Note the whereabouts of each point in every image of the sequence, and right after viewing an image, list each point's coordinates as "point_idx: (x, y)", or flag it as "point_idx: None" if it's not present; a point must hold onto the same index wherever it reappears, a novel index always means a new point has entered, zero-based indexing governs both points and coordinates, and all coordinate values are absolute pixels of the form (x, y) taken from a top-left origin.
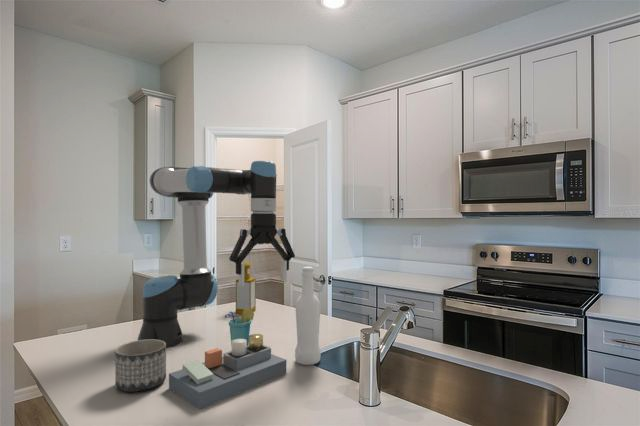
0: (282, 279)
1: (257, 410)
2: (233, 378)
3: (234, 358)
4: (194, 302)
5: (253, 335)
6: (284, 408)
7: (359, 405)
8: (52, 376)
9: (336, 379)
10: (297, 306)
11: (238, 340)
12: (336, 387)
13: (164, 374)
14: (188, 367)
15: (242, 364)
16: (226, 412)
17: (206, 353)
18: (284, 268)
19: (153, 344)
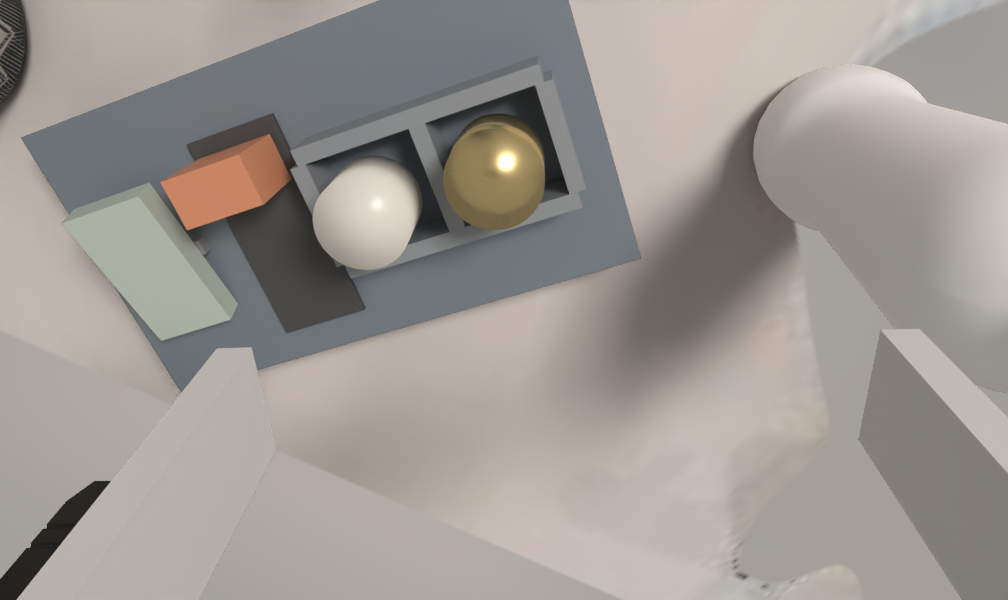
0: (878, 404)
1: (402, 449)
2: (328, 336)
3: None
4: None
5: (483, 159)
6: (491, 477)
7: (722, 564)
8: None
9: (794, 387)
10: (900, 284)
11: (359, 211)
12: (743, 441)
13: (3, 64)
14: (98, 254)
15: None
16: (299, 416)
17: (173, 198)
18: (961, 595)
19: None
